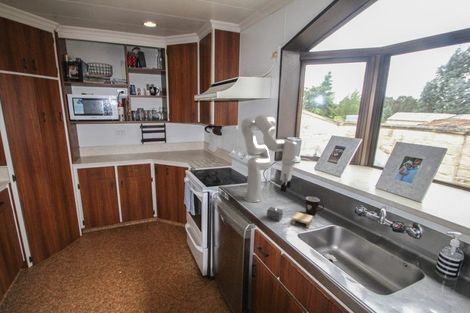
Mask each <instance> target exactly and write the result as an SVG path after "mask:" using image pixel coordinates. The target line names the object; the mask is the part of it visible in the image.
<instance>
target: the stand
mask: <svg viewBox="0 0 470 313" xmlns="http://www.w3.org/2000/svg"><path fill="white" fill-rule="evenodd" d="M313 218H314V215H308V214H306V213H302V212H299V211H296V212H295V213H294V214H293V216H292V217H291V223H290V224H291V225H295V224H296V222H299V223H303V224H305V229H308V230H309V229H310V226H311V224H312V223H313Z"/></svg>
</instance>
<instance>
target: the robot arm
mask: <svg viewBox="0 0 470 313" xmlns="http://www.w3.org/2000/svg"><path fill="white" fill-rule="evenodd" d="M240 125H241V126H240V128H241V134H242V135H243V138H244V144H245V147H246V153H247V154H248V156H251V157H250V158H249V159H247V160H248V161H247V162H246V164H247V182H246V191H243V190H242V191H241V195H242V196H243V199H244V200H245V201H246V202H248V203H258V202H261V201H262V197H260V192H261V191H260V190H261V180H262V179H261V178H262V176H261V173H260V171H265V170H269V169H270V168H271V165H272V164H271V163H272V162H271V157H270V152H269V151H271V152H282V155H281V158H282V159H281V165H282V166H281V172H280V178H279V179H280V181H281V183H280V192H283V193H286V192H287V188H291V184H292V183H291V182H292V177H293V167H294V166H295V162H296V155H297V146H298V145H297V144H298V143H297V141H294V140H289V139H288V138H287V139H286V138H273V137H272V136H273V135H274V134H275V133H276V127H275V125H276V119H275V117H274V116H272V115H265V114H260V115H256V117H248V118H247V117H246V118H244V119H243V120H242V121H241V124H240ZM253 131H260V132H261V133H262V134H263V136H262V140H263V142H258V140H257V136H256V134H255V133H254V132H253Z"/></svg>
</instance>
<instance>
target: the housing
mask: <svg viewBox="0 0 470 313" xmlns="http://www.w3.org/2000/svg"><path fill="white" fill-rule="evenodd" d="M283 213H284V212H283V209H281V208H278V207H277V208H276V207H273V206H270V207H269V208H268V209H266V219H268V220H271V221H275V222H281V220H282V219H283Z"/></svg>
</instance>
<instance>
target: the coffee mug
mask: <svg viewBox="0 0 470 313" xmlns="http://www.w3.org/2000/svg"><path fill="white" fill-rule="evenodd" d="M320 205H321V206H322V208H321V209H318V207H319V206H320ZM324 208H325V207H324V204H323V203H320V199H319V198H318V197H314V196H306V197H305V214H307V215H311V216H316V214H317V212H320V211H323V209H324Z"/></svg>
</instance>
